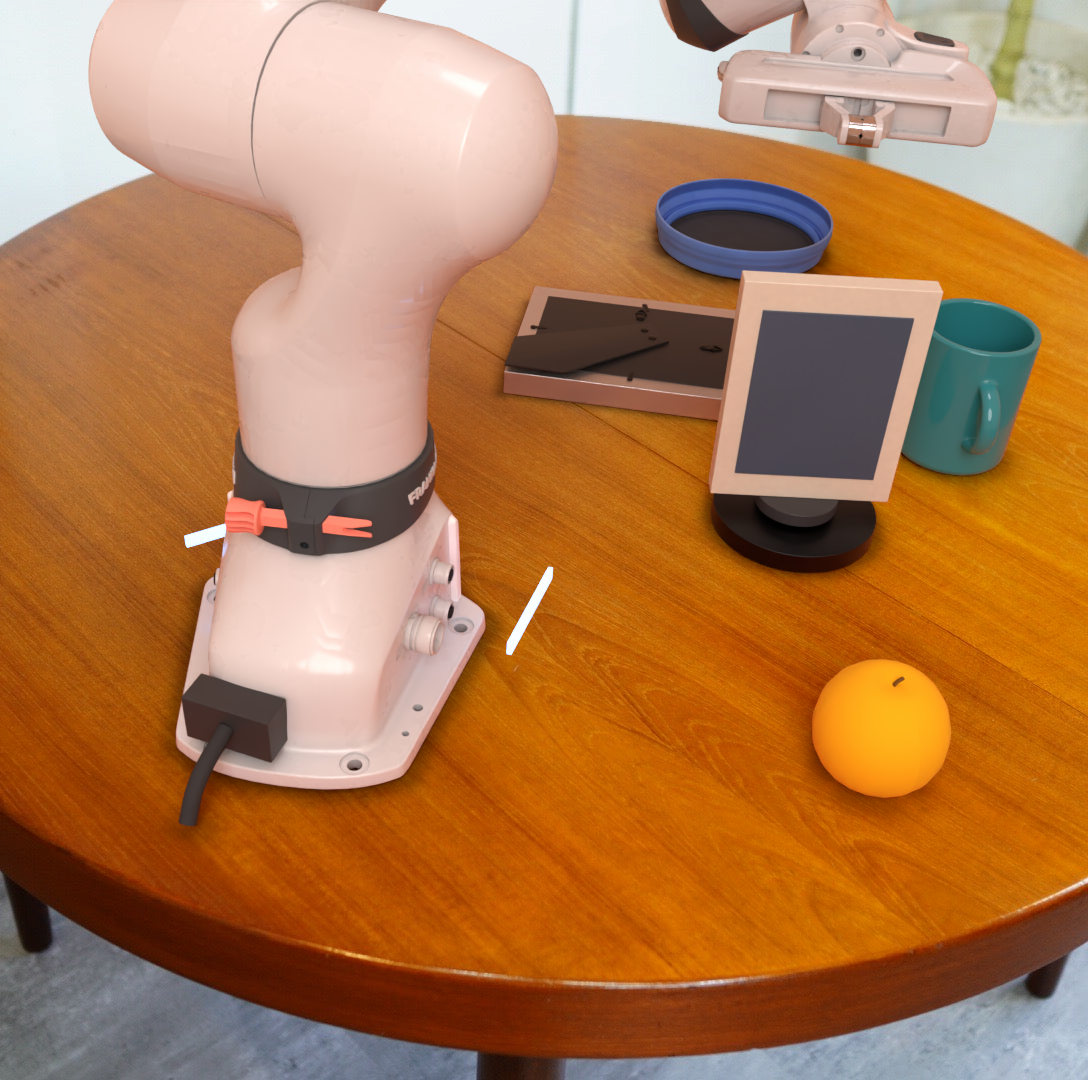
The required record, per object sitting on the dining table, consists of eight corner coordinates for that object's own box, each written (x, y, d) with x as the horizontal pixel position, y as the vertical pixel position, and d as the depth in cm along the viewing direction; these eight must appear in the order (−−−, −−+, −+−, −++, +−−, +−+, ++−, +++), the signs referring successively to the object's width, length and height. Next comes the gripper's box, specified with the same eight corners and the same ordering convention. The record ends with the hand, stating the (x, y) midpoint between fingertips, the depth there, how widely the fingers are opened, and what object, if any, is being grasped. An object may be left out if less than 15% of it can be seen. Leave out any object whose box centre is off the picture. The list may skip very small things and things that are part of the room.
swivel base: (878, 582, 93) (882, 565, 92) (708, 562, 94) (711, 545, 93) (866, 485, 102) (870, 469, 102) (712, 467, 103) (714, 451, 102)
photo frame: (890, 531, 95) (951, 308, 84) (711, 522, 95) (748, 297, 83) (875, 483, 100) (931, 265, 88) (703, 474, 99) (738, 254, 88)
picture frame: (503, 393, 110) (751, 425, 108) (504, 363, 108) (756, 395, 107) (533, 306, 123) (757, 333, 121) (535, 278, 121) (761, 305, 119)
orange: (792, 717, 82) (814, 627, 77) (917, 721, 82) (946, 631, 78) (815, 818, 76) (841, 727, 71) (950, 821, 76) (984, 730, 71)
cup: (910, 499, 101) (946, 373, 94) (879, 414, 111) (910, 294, 104) (1026, 504, 102) (1070, 379, 95) (986, 419, 111) (1023, 300, 104)
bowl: (852, 283, 130) (859, 250, 128) (674, 288, 127) (678, 254, 125) (797, 206, 144) (803, 175, 142) (636, 209, 141) (639, 177, 139)
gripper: (723, 19, 103) (720, 77, 92) (988, 44, 102) (1016, 106, 91) (712, 99, 107) (708, 164, 96) (967, 124, 106) (992, 193, 95)
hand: (860, 136), depth 93 cm, fingers closed
